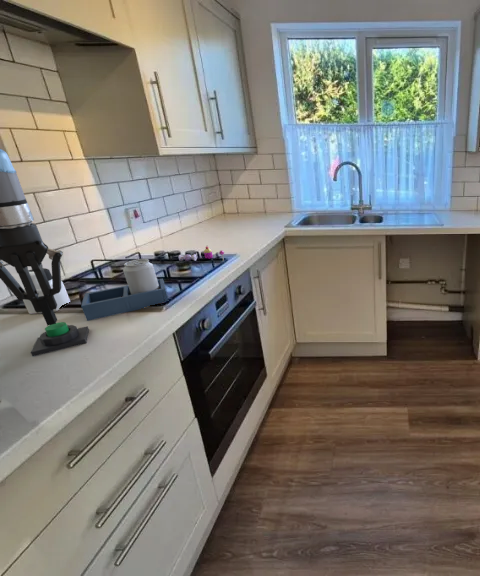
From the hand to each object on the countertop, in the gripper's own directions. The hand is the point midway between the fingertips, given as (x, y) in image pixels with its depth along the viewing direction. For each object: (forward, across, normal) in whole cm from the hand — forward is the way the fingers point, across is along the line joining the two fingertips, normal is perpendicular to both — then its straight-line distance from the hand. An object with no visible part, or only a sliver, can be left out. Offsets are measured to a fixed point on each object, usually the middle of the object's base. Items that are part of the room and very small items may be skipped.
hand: (52, 322), depth 86 cm
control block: (+6, 0, 0) cm, 6 cm away
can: (+5, -19, -16) cm, 25 cm away
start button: (+3, 0, 0) cm, 3 cm away
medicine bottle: (+6, +6, -28) cm, 29 cm away
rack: (+6, -14, -16) cm, 22 cm away
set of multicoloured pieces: (+5, -42, -51) cm, 66 cm away
